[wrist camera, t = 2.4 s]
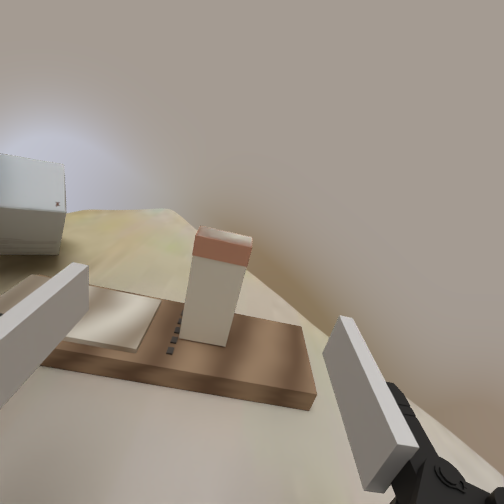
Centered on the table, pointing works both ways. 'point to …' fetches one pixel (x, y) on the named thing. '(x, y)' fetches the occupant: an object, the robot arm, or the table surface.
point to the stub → (214, 285)
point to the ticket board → (180, 349)
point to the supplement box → (31, 206)
